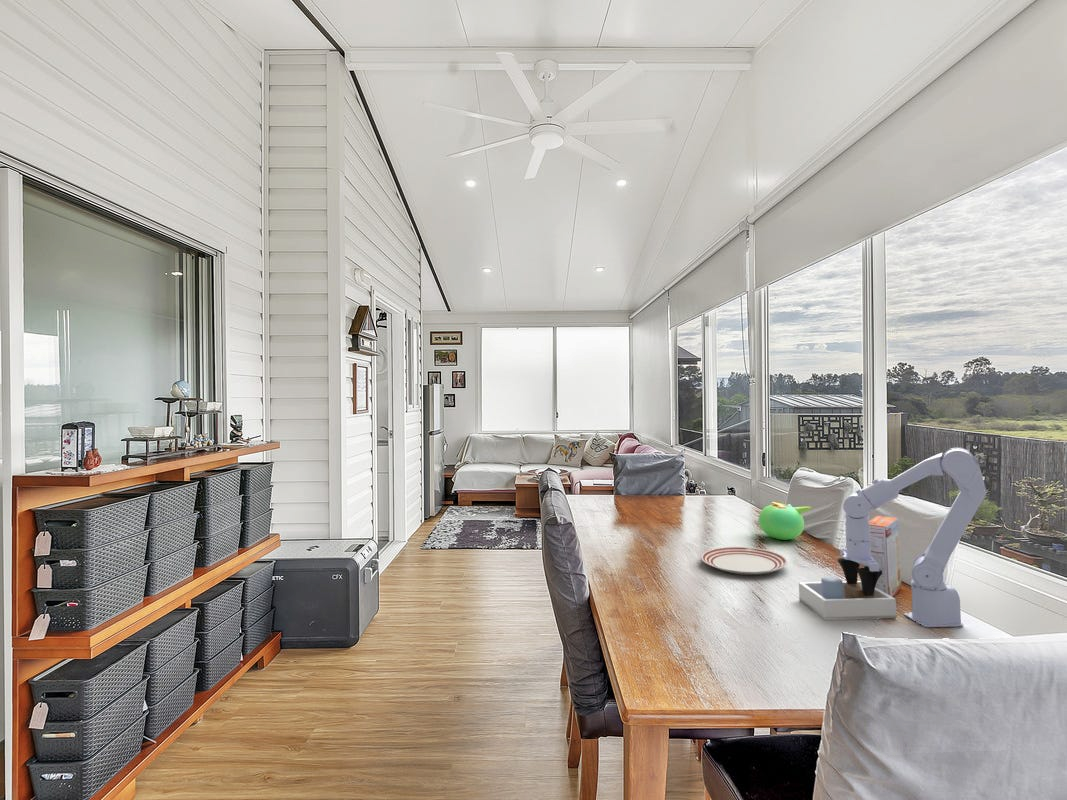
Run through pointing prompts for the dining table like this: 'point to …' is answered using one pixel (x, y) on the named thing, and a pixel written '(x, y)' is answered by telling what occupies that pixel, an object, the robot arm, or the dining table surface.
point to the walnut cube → (855, 591)
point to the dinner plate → (744, 560)
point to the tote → (846, 604)
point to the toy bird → (782, 520)
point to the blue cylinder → (832, 588)
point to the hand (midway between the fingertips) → (859, 590)
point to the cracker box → (886, 553)
